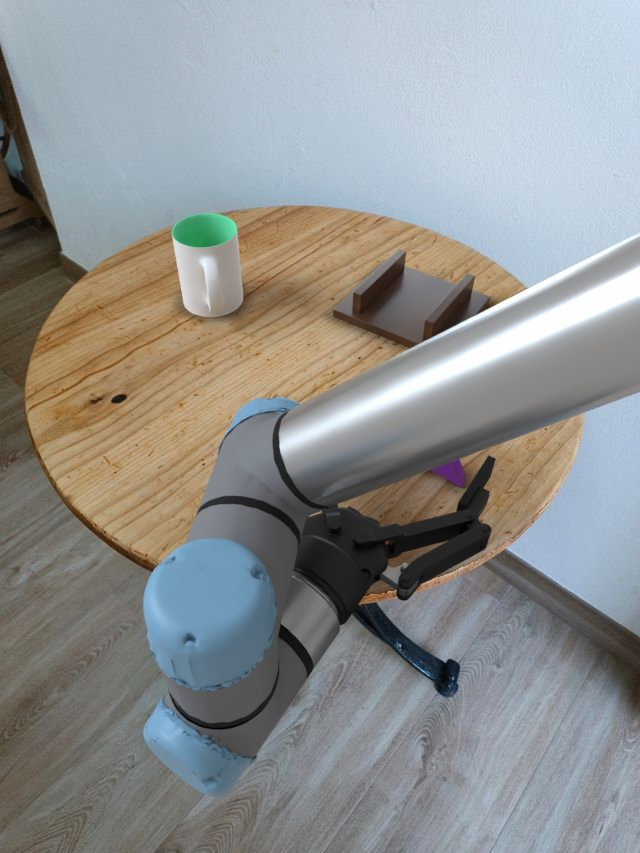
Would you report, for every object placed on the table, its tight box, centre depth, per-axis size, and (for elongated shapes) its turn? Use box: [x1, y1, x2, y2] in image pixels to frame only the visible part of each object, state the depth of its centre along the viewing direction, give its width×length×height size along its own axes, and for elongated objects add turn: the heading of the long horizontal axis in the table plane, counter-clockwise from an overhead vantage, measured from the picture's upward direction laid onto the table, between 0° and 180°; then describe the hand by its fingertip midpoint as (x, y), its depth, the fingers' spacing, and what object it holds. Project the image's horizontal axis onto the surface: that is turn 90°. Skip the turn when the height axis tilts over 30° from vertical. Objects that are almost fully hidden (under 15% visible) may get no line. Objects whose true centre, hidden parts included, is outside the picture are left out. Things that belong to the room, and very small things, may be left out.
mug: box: [171, 212, 244, 318], centre depth 88 cm, size 12×8×10 cm, turn 16°
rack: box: [332, 249, 491, 349], centre depth 90 cm, size 16×14×4 cm
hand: (425, 436), depth 68 cm, fingers open, 13 cm apart
